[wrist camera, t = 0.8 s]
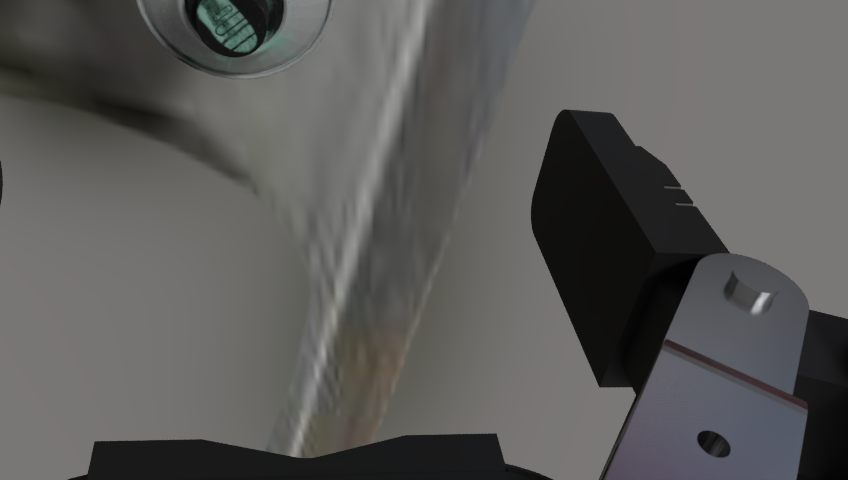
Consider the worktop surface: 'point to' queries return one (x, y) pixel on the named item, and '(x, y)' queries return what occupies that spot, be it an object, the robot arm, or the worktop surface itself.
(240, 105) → the worktop surface
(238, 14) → the spray can
